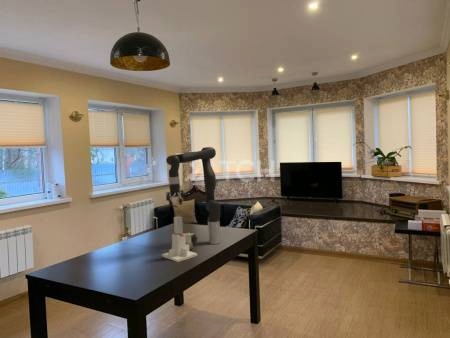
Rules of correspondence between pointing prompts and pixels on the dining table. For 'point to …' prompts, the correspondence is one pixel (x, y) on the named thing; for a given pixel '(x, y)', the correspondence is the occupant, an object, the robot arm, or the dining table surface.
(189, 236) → the pneumatic valve
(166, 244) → the dining table surface
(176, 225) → the column
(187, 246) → the stand base
